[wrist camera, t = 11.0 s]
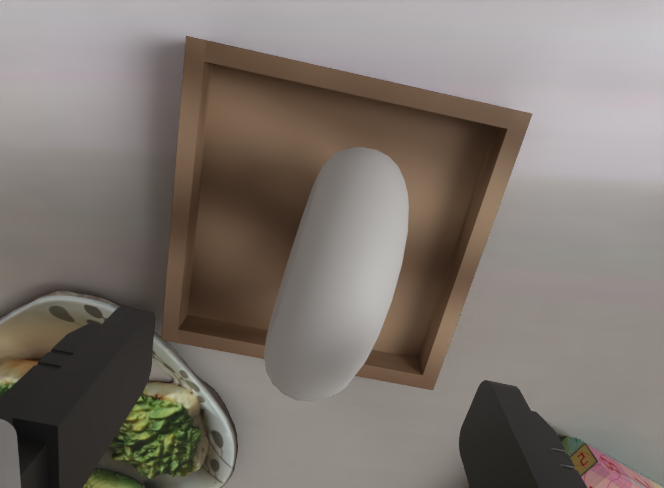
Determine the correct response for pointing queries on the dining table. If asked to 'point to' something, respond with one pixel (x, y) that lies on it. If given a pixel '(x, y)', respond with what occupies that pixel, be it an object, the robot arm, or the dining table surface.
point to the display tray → (295, 187)
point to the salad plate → (148, 413)
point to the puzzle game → (603, 468)
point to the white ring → (338, 275)
